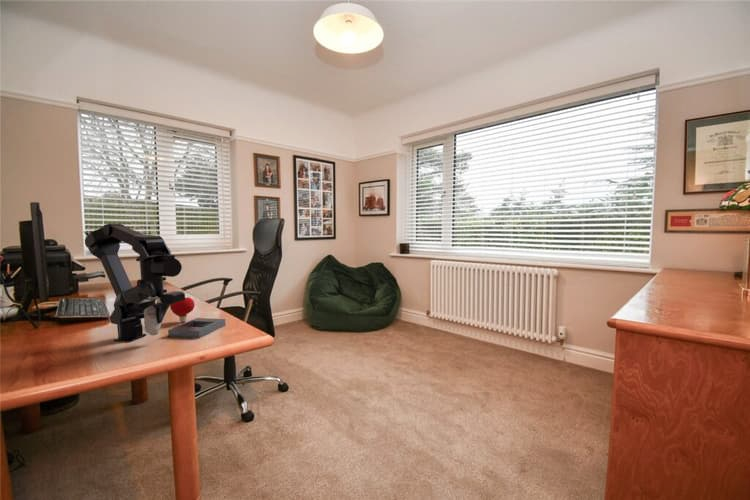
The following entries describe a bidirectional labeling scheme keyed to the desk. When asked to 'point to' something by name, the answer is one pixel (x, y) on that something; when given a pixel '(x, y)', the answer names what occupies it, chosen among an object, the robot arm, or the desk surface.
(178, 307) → the light bulb
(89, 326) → the desk surface
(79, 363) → the desk surface
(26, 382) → the desk surface
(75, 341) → the desk surface
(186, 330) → the socket block
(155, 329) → the pale grey rock
